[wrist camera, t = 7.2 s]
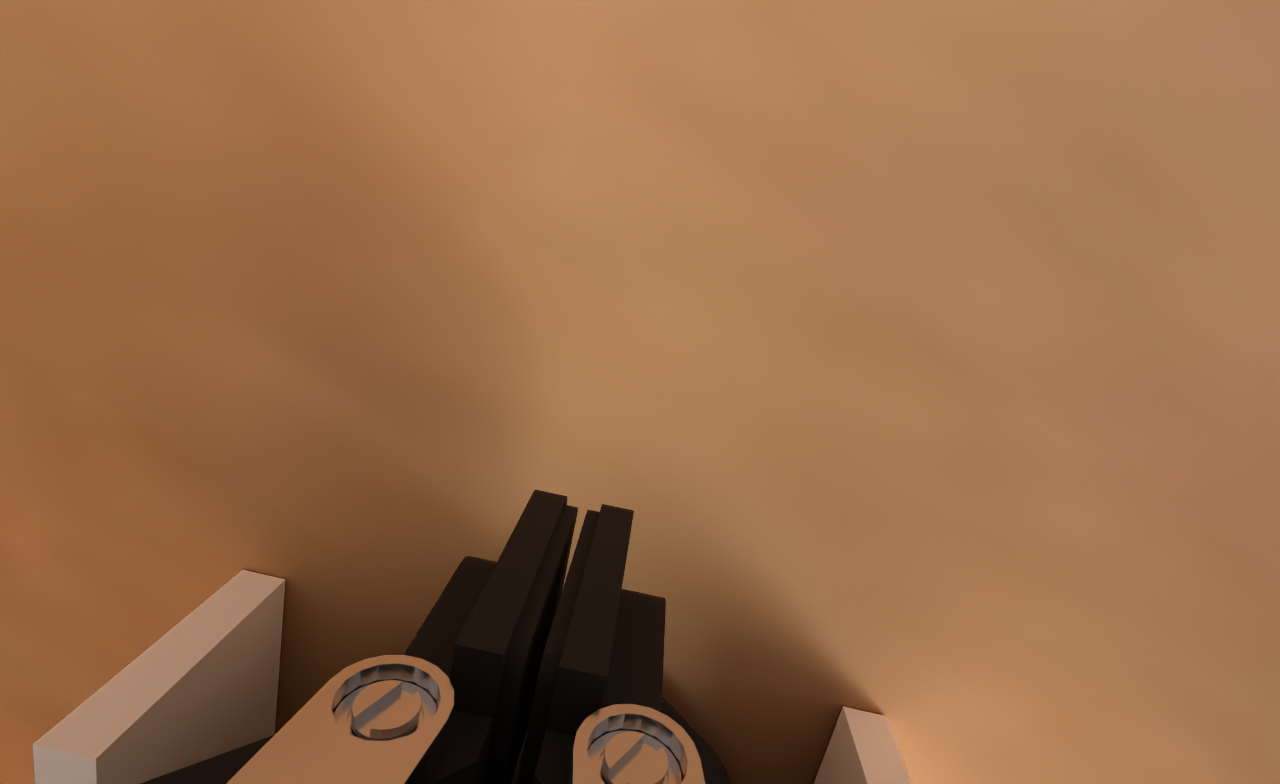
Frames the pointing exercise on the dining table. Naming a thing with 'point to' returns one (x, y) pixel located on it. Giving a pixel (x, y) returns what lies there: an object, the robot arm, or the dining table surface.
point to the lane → (247, 701)
